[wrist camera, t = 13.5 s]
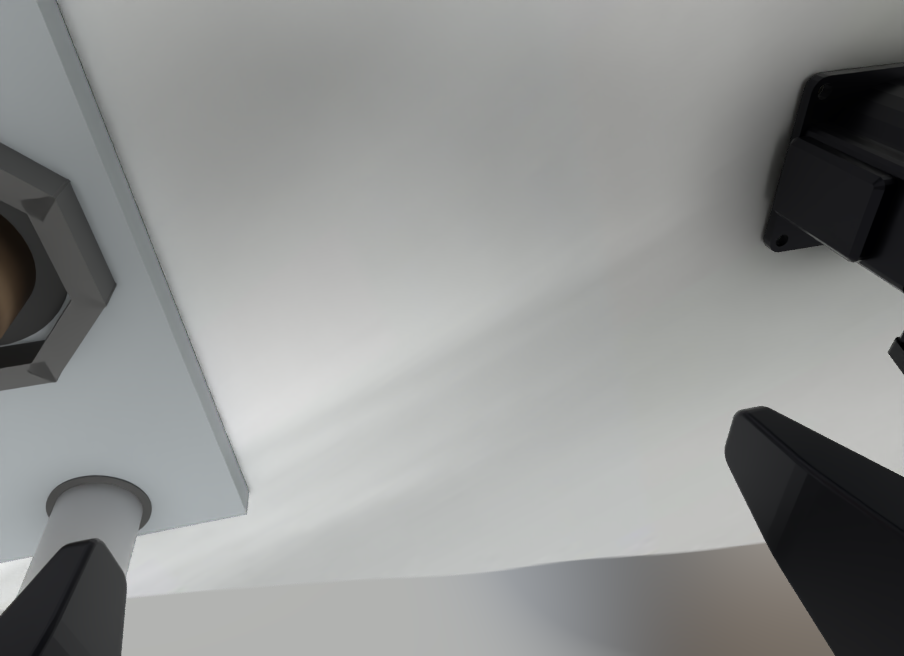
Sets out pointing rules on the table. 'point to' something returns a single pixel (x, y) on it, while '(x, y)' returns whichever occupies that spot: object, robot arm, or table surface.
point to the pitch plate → (91, 331)
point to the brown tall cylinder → (14, 273)
